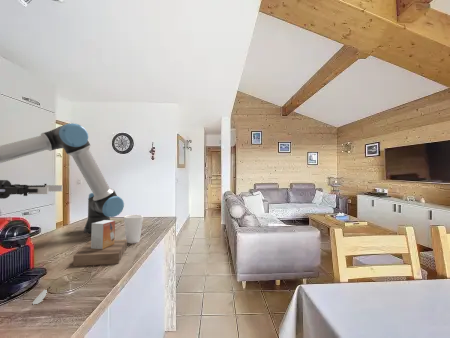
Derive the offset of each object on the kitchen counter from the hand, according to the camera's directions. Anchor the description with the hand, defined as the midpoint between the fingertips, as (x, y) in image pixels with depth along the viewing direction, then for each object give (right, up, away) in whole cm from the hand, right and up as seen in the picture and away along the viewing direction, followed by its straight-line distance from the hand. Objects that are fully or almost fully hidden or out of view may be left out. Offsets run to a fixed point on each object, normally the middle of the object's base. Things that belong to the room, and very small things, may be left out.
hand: (55, 189), depth 104 cm
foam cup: (+24, -29, +23) cm, 44 cm away
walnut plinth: (+20, -28, 0) cm, 35 cm away
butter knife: (+16, -28, -25) cm, 41 cm away
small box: (+20, -25, +1) cm, 32 cm away
